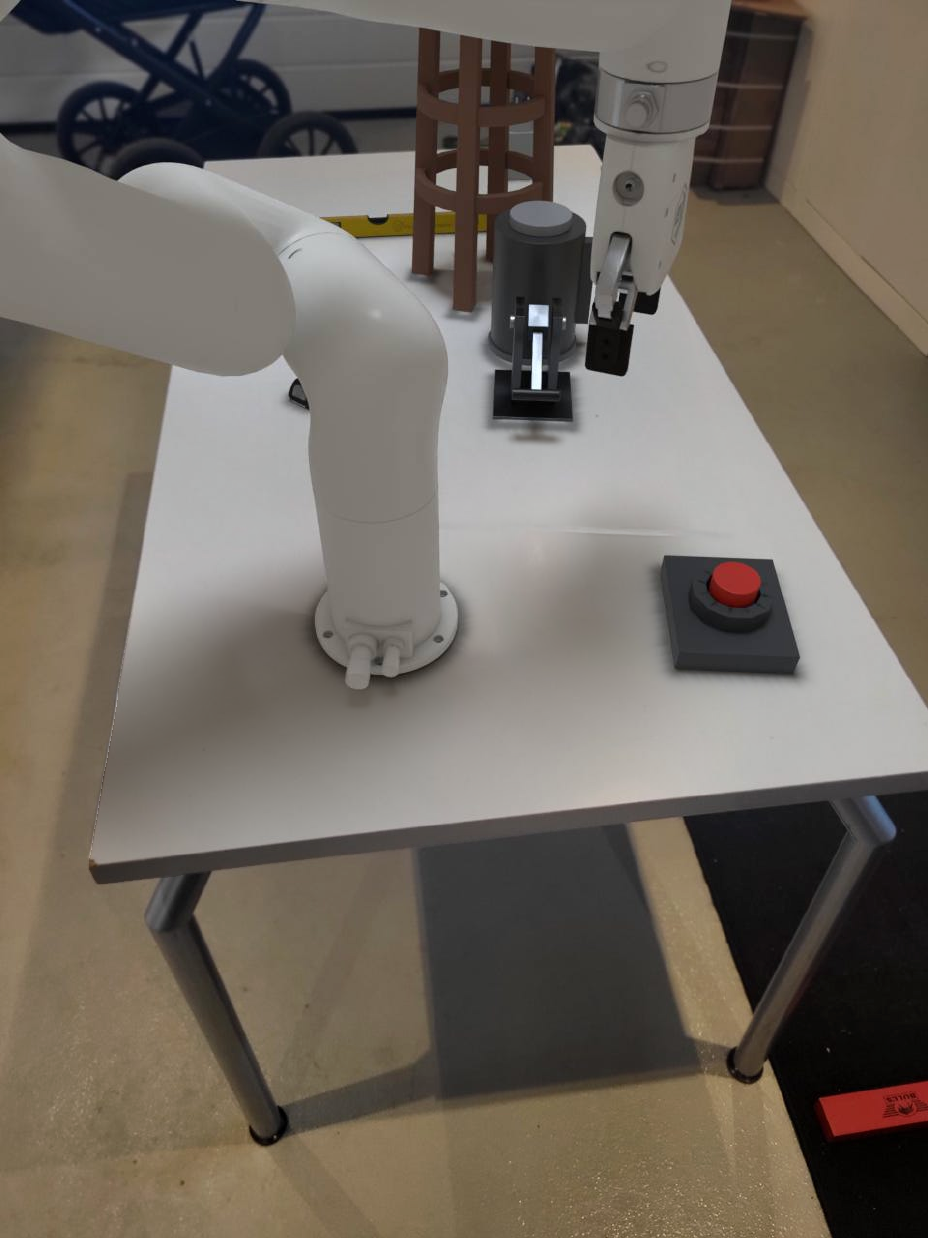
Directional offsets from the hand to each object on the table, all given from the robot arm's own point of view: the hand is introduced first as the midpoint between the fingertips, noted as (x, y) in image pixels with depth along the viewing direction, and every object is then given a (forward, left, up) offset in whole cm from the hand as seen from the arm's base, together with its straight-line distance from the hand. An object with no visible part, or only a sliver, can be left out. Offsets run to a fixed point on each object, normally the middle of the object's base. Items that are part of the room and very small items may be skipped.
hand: (622, 339), depth 69 cm
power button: (-9, -11, -19) cm, 24 cm away
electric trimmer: (+29, +29, -22) cm, 47 cm away
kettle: (+38, +5, -22) cm, 44 cm away
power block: (-9, -11, -22) cm, 26 cm away
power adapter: (+94, +8, -22) cm, 97 cm away
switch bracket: (+25, +6, -22) cm, 34 cm away
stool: (+54, +13, -22) cm, 60 cm away
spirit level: (+69, +29, -22) cm, 78 cm away
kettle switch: (+22, +6, -15) cm, 27 cm away
